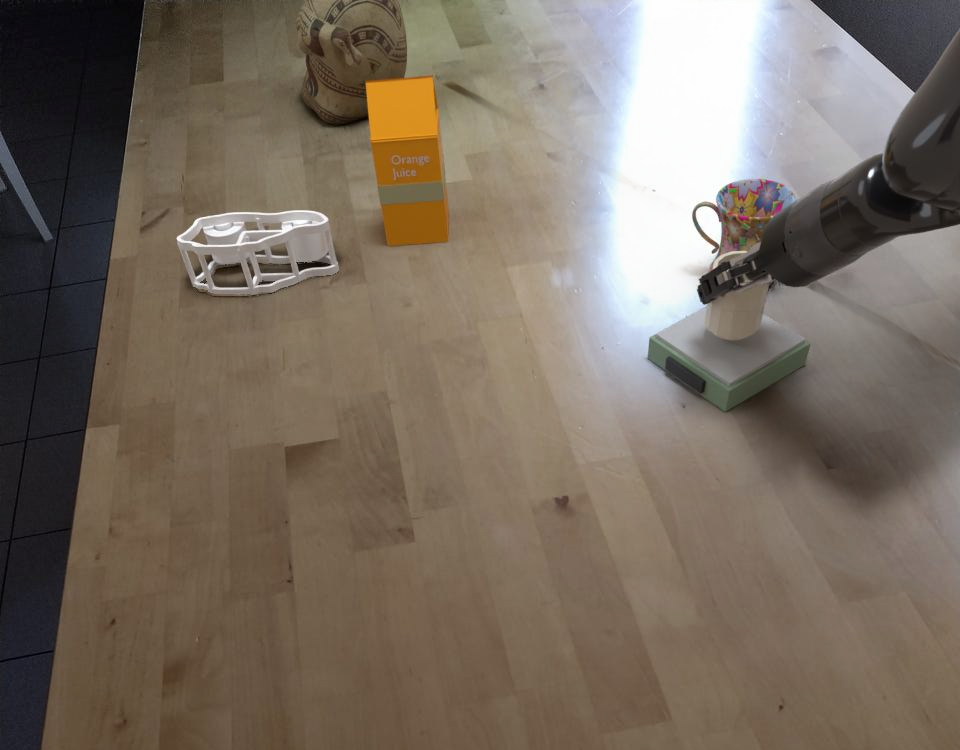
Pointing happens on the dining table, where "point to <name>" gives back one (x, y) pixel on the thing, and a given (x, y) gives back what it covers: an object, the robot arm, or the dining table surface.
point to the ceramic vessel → (349, 53)
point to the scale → (727, 358)
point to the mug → (745, 213)
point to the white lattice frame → (260, 248)
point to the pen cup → (736, 308)
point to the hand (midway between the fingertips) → (728, 285)
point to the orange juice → (408, 159)
